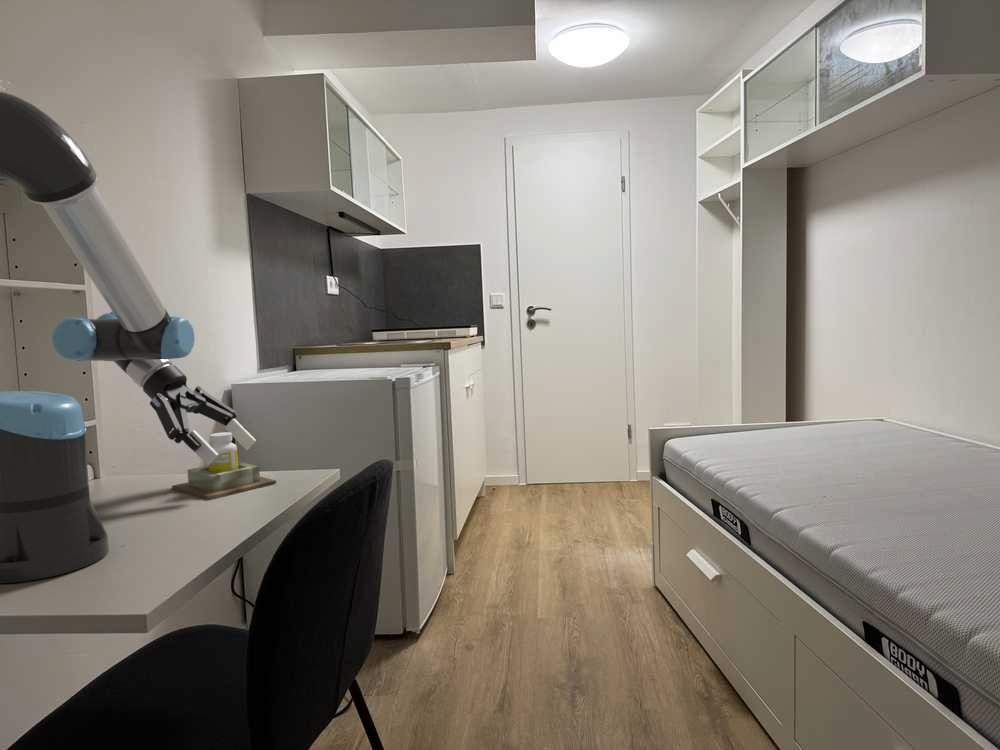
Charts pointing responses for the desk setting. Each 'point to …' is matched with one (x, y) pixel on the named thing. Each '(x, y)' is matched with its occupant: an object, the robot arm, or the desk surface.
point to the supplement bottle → (223, 453)
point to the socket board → (222, 481)
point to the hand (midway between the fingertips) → (233, 452)
